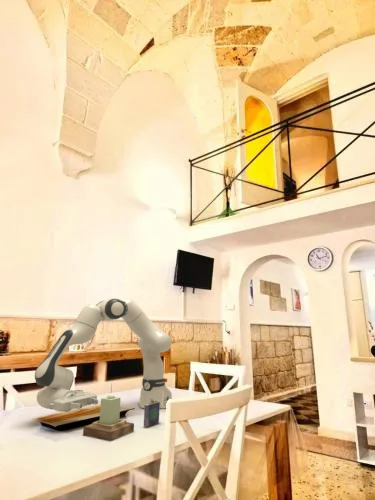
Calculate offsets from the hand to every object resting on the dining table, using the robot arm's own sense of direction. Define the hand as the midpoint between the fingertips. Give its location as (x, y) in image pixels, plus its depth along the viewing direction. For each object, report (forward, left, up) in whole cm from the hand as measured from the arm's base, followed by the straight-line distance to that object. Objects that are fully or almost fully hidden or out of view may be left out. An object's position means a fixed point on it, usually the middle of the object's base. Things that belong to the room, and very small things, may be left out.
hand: (89, 404), depth 138 cm
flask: (-18, +20, -10) cm, 28 cm away
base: (0, +12, -10) cm, 15 cm away
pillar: (0, +12, -7) cm, 13 cm away
